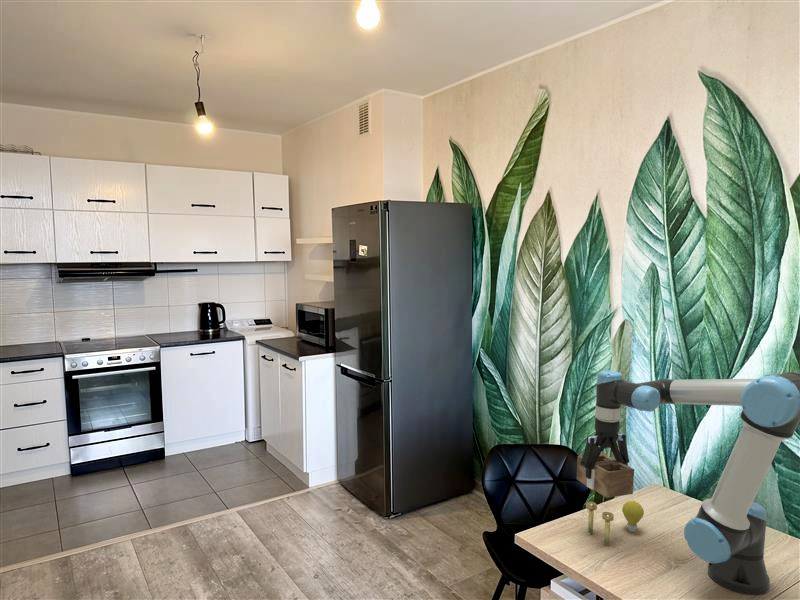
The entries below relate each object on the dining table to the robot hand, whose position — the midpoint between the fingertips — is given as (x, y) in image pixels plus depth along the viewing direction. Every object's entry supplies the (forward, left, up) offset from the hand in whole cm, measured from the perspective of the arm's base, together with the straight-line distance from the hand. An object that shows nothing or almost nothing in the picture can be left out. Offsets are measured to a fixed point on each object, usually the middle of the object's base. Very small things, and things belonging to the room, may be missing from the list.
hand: (603, 486), depth 181 cm
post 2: (-4, +1, -18) cm, 18 cm away
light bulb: (+1, -14, -18) cm, 22 cm away
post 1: (+4, +1, -18) cm, 18 cm away
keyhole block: (0, 0, 0) cm, 0 cm away
